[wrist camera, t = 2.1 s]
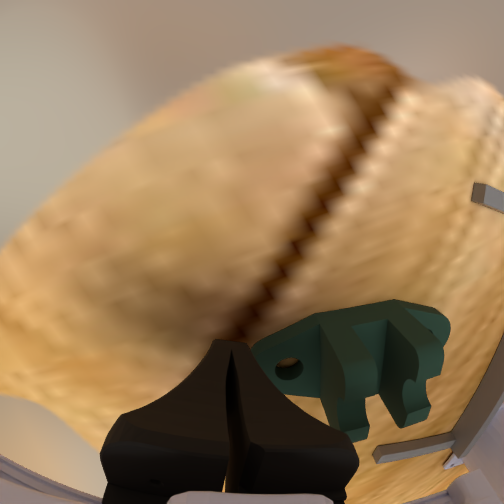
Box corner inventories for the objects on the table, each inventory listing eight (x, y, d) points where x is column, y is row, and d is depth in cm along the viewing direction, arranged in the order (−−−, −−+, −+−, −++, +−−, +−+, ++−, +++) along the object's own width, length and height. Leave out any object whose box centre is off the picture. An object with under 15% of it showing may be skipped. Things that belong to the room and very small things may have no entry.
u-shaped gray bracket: (544, 216, 13) (569, 223, 11) (452, 438, 18) (465, 456, 16) (474, 182, 13) (506, 187, 10) (372, 454, 17) (382, 478, 15)
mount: (443, 287, 14) (502, 326, 9) (433, 354, 15) (477, 402, 11) (242, 321, 14) (245, 390, 9) (252, 392, 15) (258, 465, 10)
